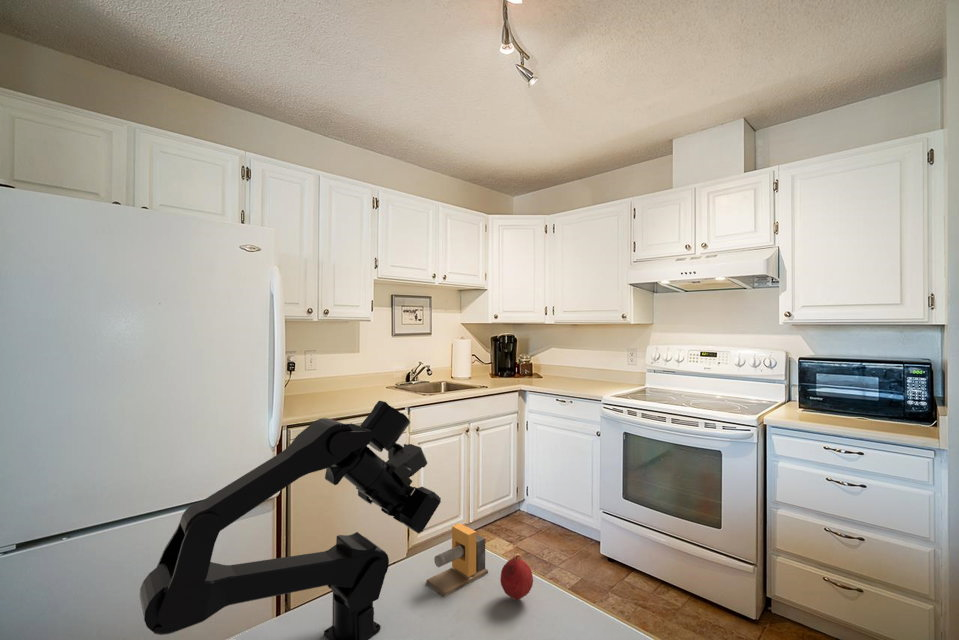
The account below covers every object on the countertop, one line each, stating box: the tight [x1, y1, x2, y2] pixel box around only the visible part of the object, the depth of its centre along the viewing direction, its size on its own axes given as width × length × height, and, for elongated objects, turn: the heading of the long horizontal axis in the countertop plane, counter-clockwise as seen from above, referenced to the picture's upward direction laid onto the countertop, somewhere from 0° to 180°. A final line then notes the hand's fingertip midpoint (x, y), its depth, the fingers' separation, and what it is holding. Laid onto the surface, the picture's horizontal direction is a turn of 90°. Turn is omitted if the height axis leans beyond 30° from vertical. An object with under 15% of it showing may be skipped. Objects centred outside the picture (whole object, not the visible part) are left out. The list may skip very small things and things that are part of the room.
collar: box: [451, 522, 477, 577], centre depth 84 cm, size 2×5×8 cm, turn 43°
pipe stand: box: [425, 533, 489, 597], centre depth 83 cm, size 11×6×6 cm, turn 133°
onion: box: [499, 553, 534, 601], centre depth 76 cm, size 6×6×8 cm
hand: (424, 520), depth 78 cm, fingers closed
